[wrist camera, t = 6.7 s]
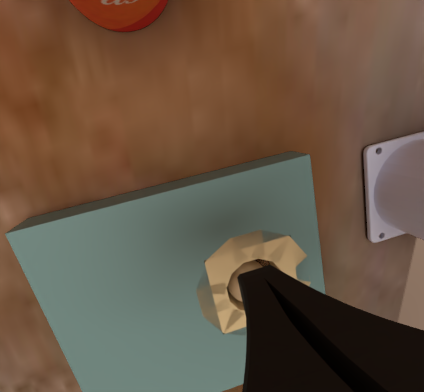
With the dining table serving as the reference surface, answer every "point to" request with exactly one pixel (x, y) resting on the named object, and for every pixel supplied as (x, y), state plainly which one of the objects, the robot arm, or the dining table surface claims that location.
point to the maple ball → (233, 282)
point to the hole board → (168, 273)
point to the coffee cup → (121, 12)
